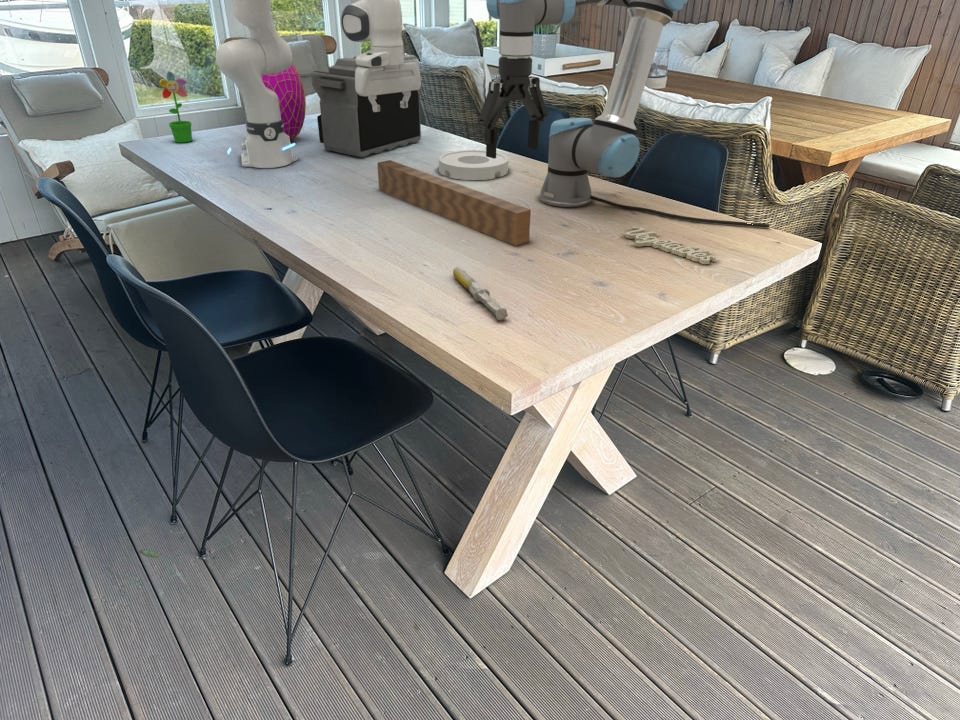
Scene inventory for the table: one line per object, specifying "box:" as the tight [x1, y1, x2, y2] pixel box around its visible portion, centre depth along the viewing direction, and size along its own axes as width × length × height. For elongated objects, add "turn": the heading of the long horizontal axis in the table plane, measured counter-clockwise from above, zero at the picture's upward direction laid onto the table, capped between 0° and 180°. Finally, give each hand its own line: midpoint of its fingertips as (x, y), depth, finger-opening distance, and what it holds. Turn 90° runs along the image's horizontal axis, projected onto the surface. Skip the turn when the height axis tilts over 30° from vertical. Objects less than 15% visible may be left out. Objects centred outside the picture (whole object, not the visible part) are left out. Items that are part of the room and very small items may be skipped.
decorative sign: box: [624, 226, 717, 265], centre depth 170 cm, size 26×1×10 cm
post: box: [376, 159, 531, 247], centre depth 189 cm, size 61×5×8 cm, turn 41°
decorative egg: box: [261, 62, 307, 141], centre depth 257 cm, size 19×19×30 cm
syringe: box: [452, 266, 509, 321], centre depth 145 cm, size 25×4×3 cm, turn 21°
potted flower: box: [158, 70, 193, 144], centre depth 255 cm, size 9×8×25 cm
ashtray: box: [438, 149, 509, 181], centre depth 229 cm, size 23×23×4 cm
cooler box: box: [310, 55, 422, 159], centre depth 250 cm, size 37×22×30 cm, turn 144°
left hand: (390, 109), depth 196 cm, fingers open, 8 cm apart
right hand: (512, 152), depth 164 cm, fingers open, 13 cm apart
